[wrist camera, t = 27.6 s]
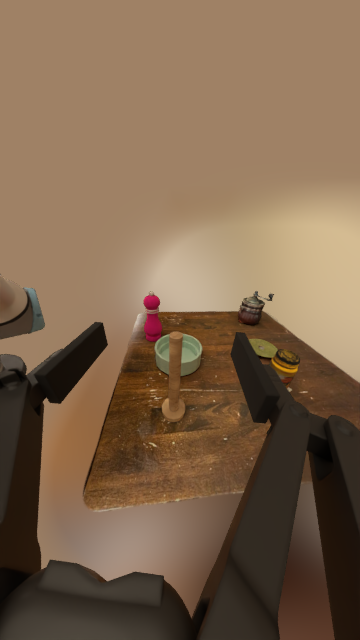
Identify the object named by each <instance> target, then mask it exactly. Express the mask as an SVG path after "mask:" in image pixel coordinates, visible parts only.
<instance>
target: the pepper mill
mask: <svg viewBox="0 0 360 640" xmlns="http://www.w3.org/2000/svg"><path fill="white" fill-rule="evenodd" d="M144 305H145V307H146V313H147V320H146V323H145V326H144V331H145V333H146V339H147V340H148V341H152V342H154V341H158V340H159V339H160V338H161V331H162V325H161V323H160V321H159V319H158V312H159V308H158V306H159V305H160V300H159V298H158V297H157V296H155V295H154V293H153V292H152V291H150V292H149V295H148V296H146V297H145V299H144Z"/></svg>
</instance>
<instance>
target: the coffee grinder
mask: <svg viewBox="0 0 360 640" xmlns="http://www.w3.org/2000/svg"><path fill="white" fill-rule="evenodd" d="M257 293H258V291H256V292H255V294H254V296H253V297H249V298H244V299H243V301H242V305H241V306H240V310H239V313H238V316H239V322H241V323H246V324H248V325H255V324H257V322H258V321H259V320H260V318H261V312H262V311H261V310H262V309H263V307H264V305H265V303H264V302H263V301H262V300H259V299H258V298H257V297H260V296H258V294H257ZM273 295H274V294H269V297H270V299H266V298H263V299H266V300H268V301H272V297H273ZM260 298H262V297H260Z"/></svg>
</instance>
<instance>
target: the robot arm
mask: <svg viewBox="0 0 360 640" xmlns="http://www.w3.org/2000/svg"><path fill="white" fill-rule="evenodd" d="M44 326H45V323H44V319H43V315H42V312H41V308H40V305H39V301H38V298H37V295H36V291H35V290H34V289H33V288H22V287H21V286H20V285H18V284H17V283H15V282H13V281H10V280H7V279H4V278H3V277H2V275H1V274H0V339H4V338H9V337H13V336H17V335H22V334H27V333H28V334H29V333H32V332H34V331H38V330H41V329H43V328H44ZM107 345H108V344H107V339H106V335H105V331H104V326H103V323H101V322H95V323H94V324H92V325H91V326H90V327H89V328H88V329H87V330H85V331H84V332H83V333H82V334H81V335H79V336H78V337H77V338H76V339H75V340H73V341H72V342H71V343H70V344H69V345H67V346H66V347H65V348H64V349H60V350H58V351H56V352H54V353H53V354H52V355H51V356H49V358H47V359H46V360H44V362H42V363H41V364H40V365H38V366H37V367H36V368H35V369H34V370H32V371H31V372H30V373H29V374H28V375H25V373H24V371H23V370H22V368H20V367H14V368H9V369H7V370H5V367H4V366H3V364H2V363H1V361H0V640H279V639H280V637H279V629H278V609H279V603H280V597H281V592H282V586H283V580H284V575H285V569H286V563H287V558H288V552H289V546H290V541H291V535H292V529H293V524H294V518H295V512H296V507H297V501H298V495H299V489H300V484H301V478H302V473H303V467H304V461H305V456H306V451H308V454H309V461H310V468H311V475H312V482H313V489H314V496H315V503H316V510H317V517H318V524H319V531H320V538H321V545H322V552H323V559H324V566H325V573H326V580H327V588H328V595H329V602H330V609H331V616H332V622H333V629H334V637H335V640H360V431H359V430H358V429H357V428H356V427H355V426H354V425H353V424H352V423H351V422H349V421H348V420H346V419H344V418H342V417H340V416H337V415H331V416H330V417H328V419H325V418H322V417H320V416H317V415H314V414H312V413H310V412H309V411H308V410H307V409H306V408H305V407H304V406H303V405H302V404H300V403H298V402H296V401H295V400H294V399H293V397H292V396H291V394H290V393H289V391H288V390H287V388H286V386H285V385H284V383H283V382H282V380H281V379H280V377H279V376H278V374H277V372H276V371H275V370H274V369H273V368H272V367H271V366H270V365H264V364H262V363H261V361H260V359H259V357H258V356H257V354H256V352H255V350H254V349H253V347H252V345H251V343H250V342H249V340H248V338H247V336H246V335H245V333H241V332H236V335H235V339H234V343H233V347H232V351H231V357H232V360H233V363H234V366H235V369H236V372H237V375H238V378H239V381H240V384H241V387H242V389H243V392H244V395H245V398H246V401H247V404H248V407H249V410H250V413H251V416H252V419H253V422H256V423H266V422H267V420H268V418H269V420H270V423H271V426H270V428H269V430H268V431H267V433H266V434H267V436H266V438H265V441H264V443H263V446H262V448H261V451H260V453H259V456H258V458H257V461H256V463H255V466H254V468H253V471H252V473H251V476H250V478H249V481H248V483H247V486H246V488H245V491H244V493H243V496H242V498H241V501H240V503H239V506H238V508H237V511H236V513H235V516H234V518H233V521H232V523H231V525H230V528H229V530H228V533H227V536H226V538H225V540H224V543H223V546H222V548H221V550H220V553H219V555H218V558H217V560H216V562H215V565H214V567H213V569H212V571H211V573H210V575H209V577H208V579H207V582H206V584H205V587H204V589H203V591H202V594H201V596H200V599H199V602H198V604H197V606H196V609H195V611H194V614H193V616H192V618H191V617H190V614H189V612H188V610H187V608H186V606H185V604H184V602H183V600H182V599H181V597H180V596H179V594H178V593H177V592H176V590H175V589H174V588H173V587H172V586H171V585H170V584H169V583H167V582H166V581H165V580H164V576H161V575H154V574H148V573H140V572H133V573H130V574H127V575H124V576H122V577H119V578H116V579H113V580H111V581H108V582H107V581H106V580H105V579H103V578H102V577H101V576H100V575H99V574H97V573H96V572H95V571H93V570H91V569H88V568H86V567H84V566H81V565H79V564H77V563H70V562H62V561H56V560H50V561H49V563H48V565H47V567H46V568H44V569H42V570H41V552H40V546H39V543H38V539H37V522H38V505H39V486H40V468H41V450H42V431H43V413H44V404H43V401H44V399H45V398H46V397H47V399H48V401H49V402H50V403H58V404H60V403H61V402H62V401H63V400H64V399H65V397H66V396H67V395H68V393H69V392H70V391H71V390H72V389H73V388H74V386H75V385H76V384H77V383H78V381H79V380H80V379H81V378H82V376H83V375H84V374H85V372H86V371H87V370H88V369H89V368H90V366H91V365H92V364H93V363H94V361H95V360H96V359H97V358H98V356H99V355H100V354H101V353H102V352H103V350H104V349H105V348H106V347H107Z"/></svg>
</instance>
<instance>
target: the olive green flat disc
mask: <svg viewBox="0 0 360 640" xmlns="http://www.w3.org/2000/svg"><path fill="white" fill-rule="evenodd" d="M249 342H250V343H251V345H252V347H253V349H254V350H255V352H256V354H257V355H260V356H262V357H269V358H272V357H274V356H275V354H276V352H277V351H278V349H277V348H276V347H275V346H274V345H272V344H271V343H269V342H267V341H264V340H260V339H250V340H249Z"/></svg>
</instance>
